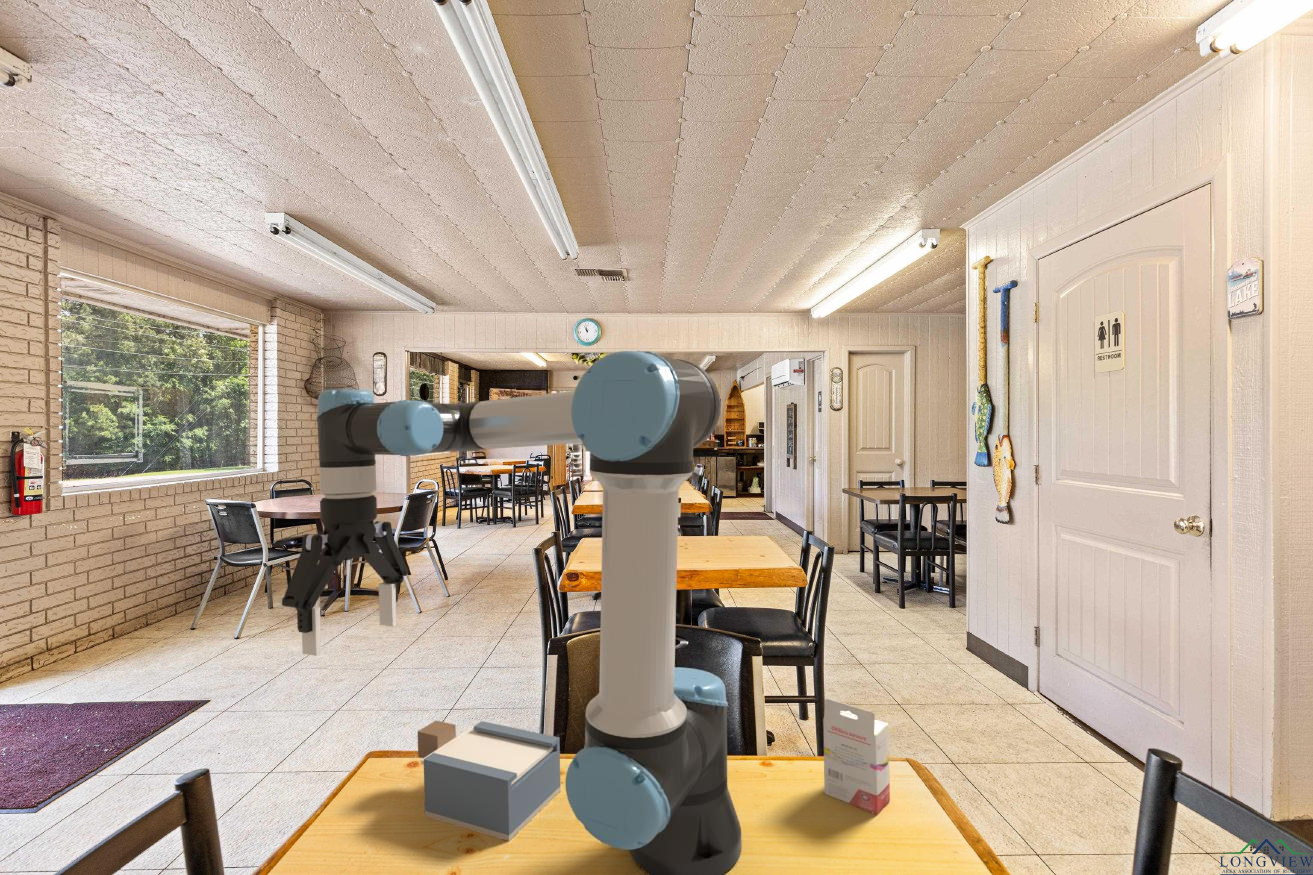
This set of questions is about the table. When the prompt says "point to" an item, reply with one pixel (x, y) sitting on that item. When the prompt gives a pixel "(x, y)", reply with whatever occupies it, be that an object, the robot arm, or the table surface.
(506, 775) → the grey open box
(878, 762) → the ink cartridge box
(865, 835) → the table surface
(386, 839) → the table surface
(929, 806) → the table surface
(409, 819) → the table surface
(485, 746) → the lid
